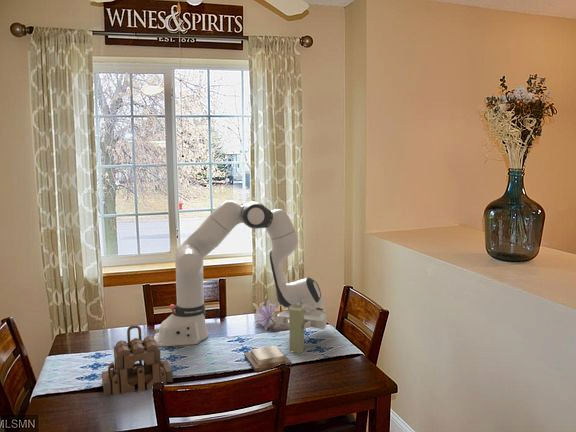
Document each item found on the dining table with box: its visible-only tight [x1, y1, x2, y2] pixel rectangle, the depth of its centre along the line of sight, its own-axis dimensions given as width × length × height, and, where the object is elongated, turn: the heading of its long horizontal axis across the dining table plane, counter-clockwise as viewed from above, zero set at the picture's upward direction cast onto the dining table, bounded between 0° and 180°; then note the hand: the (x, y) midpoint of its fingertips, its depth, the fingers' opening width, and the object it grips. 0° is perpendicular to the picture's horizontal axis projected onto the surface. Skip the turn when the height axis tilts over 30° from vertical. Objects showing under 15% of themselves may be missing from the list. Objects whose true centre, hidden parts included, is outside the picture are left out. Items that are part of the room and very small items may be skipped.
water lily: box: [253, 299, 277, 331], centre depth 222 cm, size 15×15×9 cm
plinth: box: [243, 345, 293, 372], centre depth 184 cm, size 14×14×3 cm
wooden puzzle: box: [101, 324, 174, 396], centre depth 167 cm, size 22×15×19 cm, turn 114°
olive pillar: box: [288, 303, 305, 353], centre depth 193 cm, size 5×5×18 cm
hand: (296, 326), depth 192 cm, fingers closed on olive pillar, 4 cm apart
